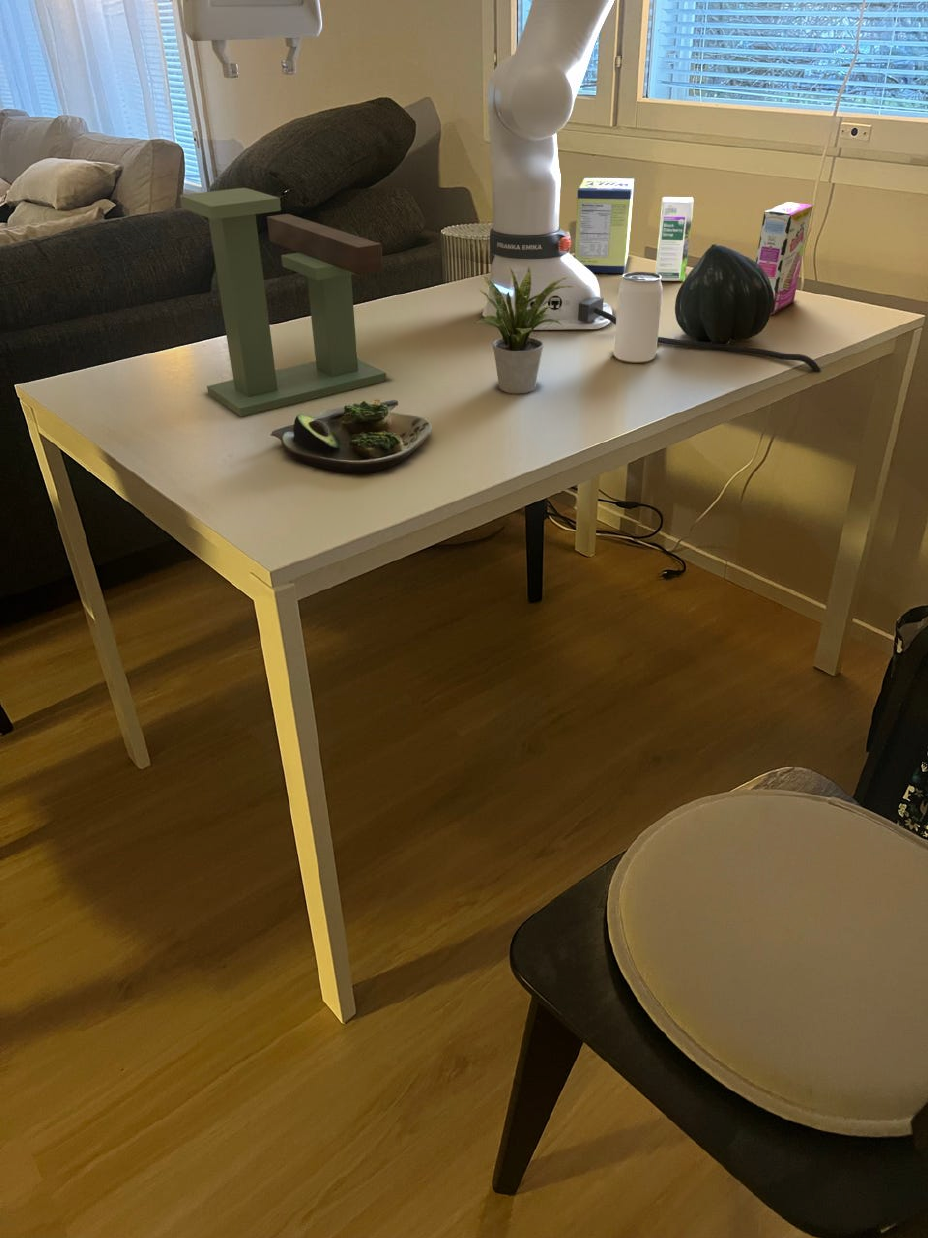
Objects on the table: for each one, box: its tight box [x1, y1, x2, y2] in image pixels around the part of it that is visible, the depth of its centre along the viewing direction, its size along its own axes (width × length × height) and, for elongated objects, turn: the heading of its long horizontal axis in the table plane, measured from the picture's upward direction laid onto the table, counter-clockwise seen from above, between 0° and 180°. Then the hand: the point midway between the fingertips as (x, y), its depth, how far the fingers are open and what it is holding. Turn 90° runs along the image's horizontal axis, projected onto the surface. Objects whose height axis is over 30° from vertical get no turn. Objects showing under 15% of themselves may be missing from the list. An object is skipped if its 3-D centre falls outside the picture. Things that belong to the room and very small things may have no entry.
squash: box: [674, 243, 774, 344], centre depth 146 cm, size 14×15×15 cm
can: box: [613, 271, 664, 364], centre depth 139 cm, size 6×6×12 cm
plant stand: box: [178, 187, 388, 418], centre depth 125 cm, size 11×23×26 cm, turn 126°
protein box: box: [574, 176, 635, 275], centre depth 187 cm, size 10×16×16 cm
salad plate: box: [270, 399, 433, 474], centre depth 115 cm, size 19×18×5 cm
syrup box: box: [654, 196, 695, 282], centre depth 178 cm, size 6×6×14 cm
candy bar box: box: [755, 201, 814, 316], centre depth 160 cm, size 11×5×16 cm, turn 144°
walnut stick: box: [266, 213, 384, 277], centre depth 126 cm, size 26×3×3 cm, turn 36°
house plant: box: [474, 268, 571, 394], centre depth 126 cm, size 14×14×16 cm
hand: (260, 75), depth 136 cm, fingers open, 8 cm apart
